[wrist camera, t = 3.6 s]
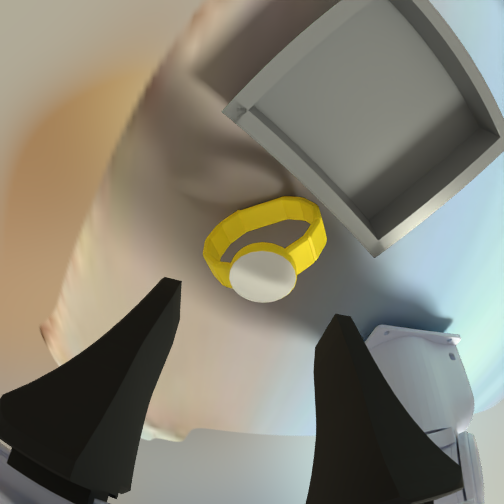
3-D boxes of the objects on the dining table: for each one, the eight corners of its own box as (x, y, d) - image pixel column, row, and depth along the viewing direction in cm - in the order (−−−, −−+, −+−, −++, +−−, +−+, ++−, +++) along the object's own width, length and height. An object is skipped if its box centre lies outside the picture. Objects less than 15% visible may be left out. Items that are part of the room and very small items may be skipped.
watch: (227, 244, 18) (207, 315, 13) (209, 205, 17) (179, 271, 12) (323, 219, 17) (337, 289, 12) (310, 175, 15) (323, 234, 10)
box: (377, -23, 8) (393, -36, 6) (488, 129, 12) (513, 141, 10) (230, 105, 13) (221, 111, 11) (364, 233, 17) (374, 258, 15)
